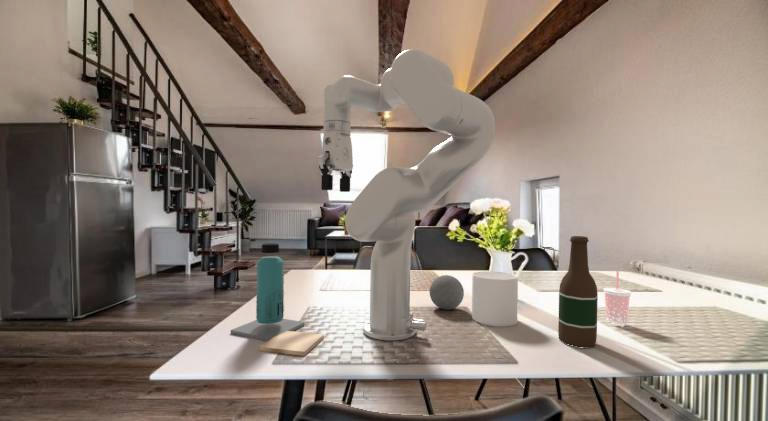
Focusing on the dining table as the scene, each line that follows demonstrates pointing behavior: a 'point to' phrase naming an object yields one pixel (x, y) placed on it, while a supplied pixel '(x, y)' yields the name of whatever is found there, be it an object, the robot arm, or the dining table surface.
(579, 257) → the beer bottle
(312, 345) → the light wooden coaster
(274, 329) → the slate coaster
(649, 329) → the dining table surface
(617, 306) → the beverage cup
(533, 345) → the dining table surface
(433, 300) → the decorative ball
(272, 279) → the beverage bottle
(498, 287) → the cup
